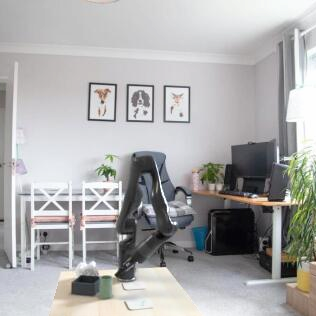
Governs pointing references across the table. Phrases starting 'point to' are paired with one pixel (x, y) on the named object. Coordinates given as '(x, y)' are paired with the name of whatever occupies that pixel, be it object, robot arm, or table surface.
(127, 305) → the table surface
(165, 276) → the table surface
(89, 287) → the tub
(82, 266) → the white knot sculpture
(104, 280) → the cup
